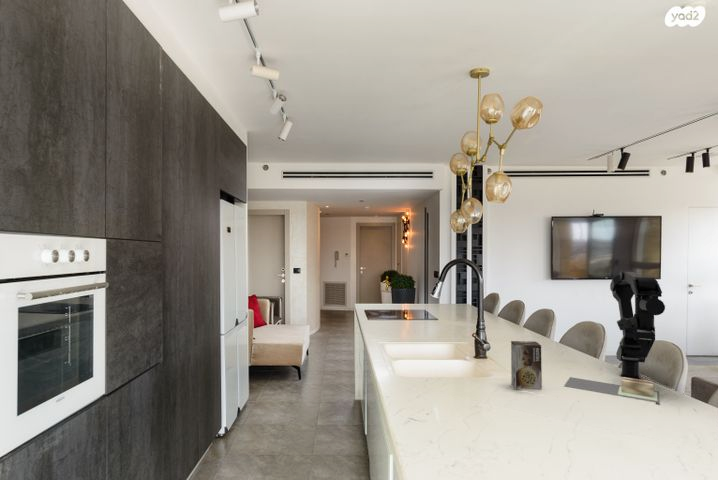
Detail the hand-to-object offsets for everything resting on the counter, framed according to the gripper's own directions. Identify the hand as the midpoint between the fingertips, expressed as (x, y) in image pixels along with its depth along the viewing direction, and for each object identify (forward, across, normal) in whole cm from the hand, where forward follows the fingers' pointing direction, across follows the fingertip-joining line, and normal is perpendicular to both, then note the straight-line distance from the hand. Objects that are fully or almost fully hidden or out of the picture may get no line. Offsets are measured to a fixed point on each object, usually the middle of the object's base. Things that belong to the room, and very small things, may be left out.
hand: (644, 355), depth 152 cm
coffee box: (+12, +25, -35) cm, 45 cm away
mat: (+12, +10, -10) cm, 19 cm away
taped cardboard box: (+11, +10, -2) cm, 15 cm away
